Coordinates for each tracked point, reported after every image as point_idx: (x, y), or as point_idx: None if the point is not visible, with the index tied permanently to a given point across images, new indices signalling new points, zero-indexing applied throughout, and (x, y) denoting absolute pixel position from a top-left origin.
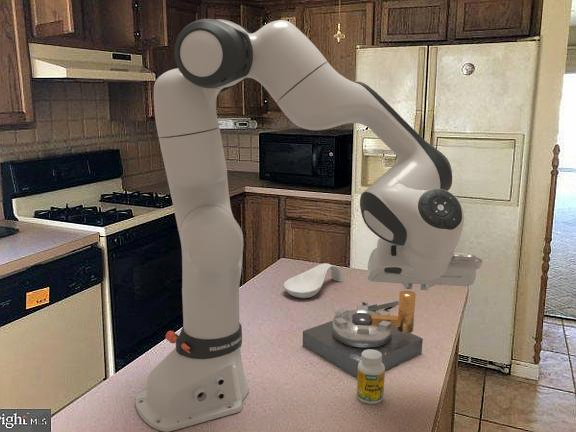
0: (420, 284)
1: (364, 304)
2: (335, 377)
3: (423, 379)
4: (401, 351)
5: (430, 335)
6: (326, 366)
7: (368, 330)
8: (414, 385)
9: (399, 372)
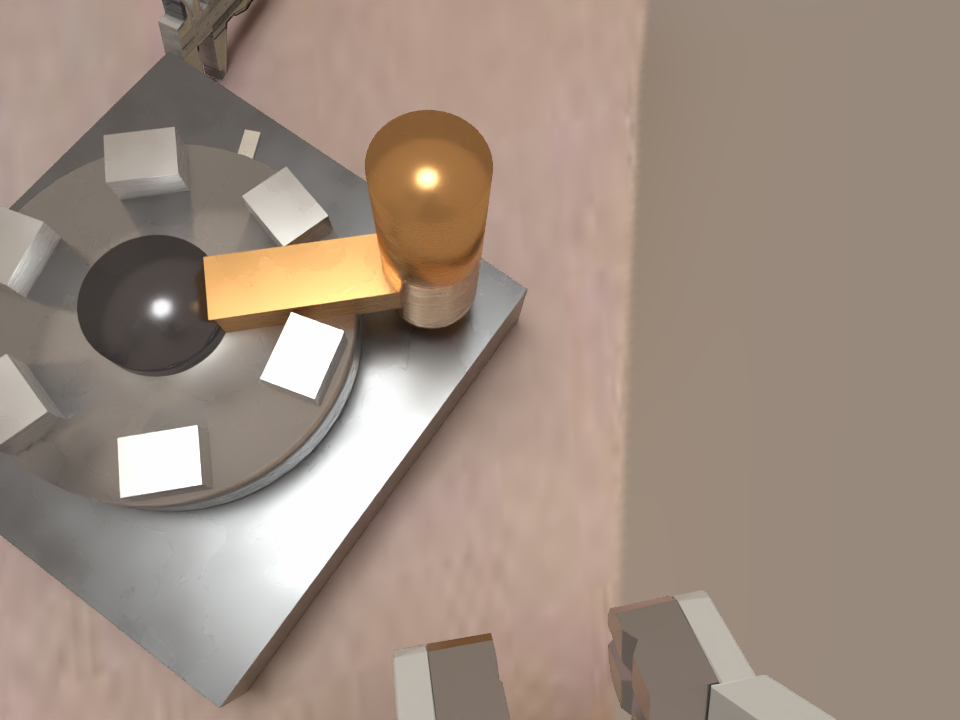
0: (614, 640)
1: (176, 7)
2: (102, 694)
3: (543, 565)
4: (424, 434)
5: (546, 124)
6: (45, 592)
7: (199, 485)
8: (505, 639)
9: (425, 534)
